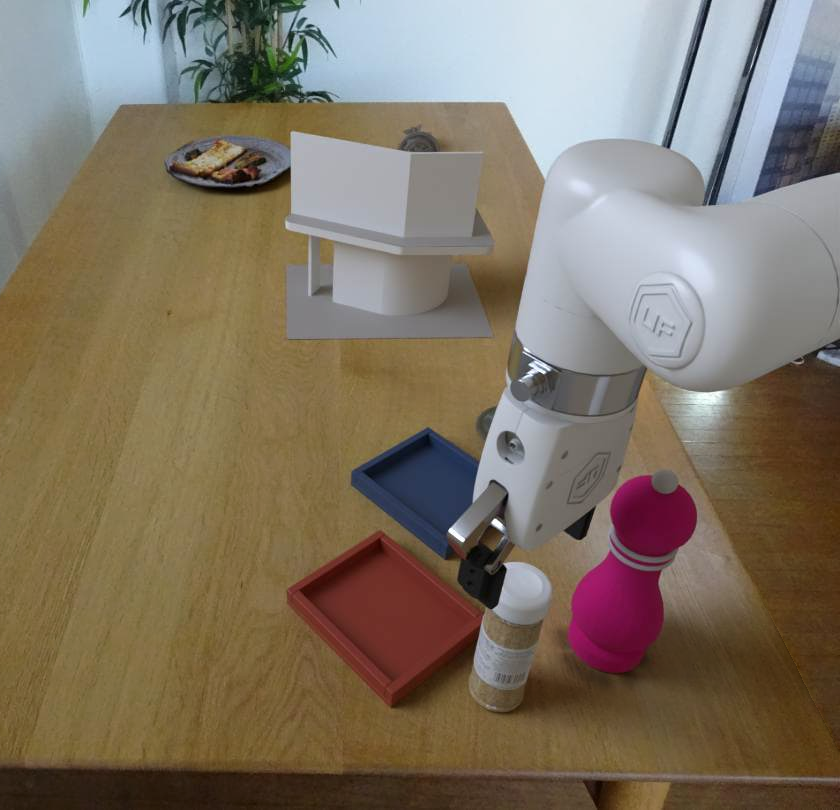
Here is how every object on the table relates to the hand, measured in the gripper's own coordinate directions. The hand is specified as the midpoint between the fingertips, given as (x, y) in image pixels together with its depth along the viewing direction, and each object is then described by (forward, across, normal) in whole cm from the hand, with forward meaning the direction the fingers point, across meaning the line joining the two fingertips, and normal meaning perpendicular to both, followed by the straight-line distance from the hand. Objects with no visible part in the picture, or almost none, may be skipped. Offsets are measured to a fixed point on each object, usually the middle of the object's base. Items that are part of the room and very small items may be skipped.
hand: (522, 559), depth 57 cm
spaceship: (+17, +74, +81) cm, 112 cm away
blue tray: (+16, +13, +18) cm, 27 cm away
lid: (+16, +27, +18) cm, 36 cm away
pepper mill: (+16, +11, -4) cm, 19 cm away
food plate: (+18, +48, +105) cm, 117 cm away
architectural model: (+17, +37, +51) cm, 65 cm away
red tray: (+16, -2, +10) cm, 19 cm away
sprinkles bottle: (+16, 0, -1) cm, 16 cm away
